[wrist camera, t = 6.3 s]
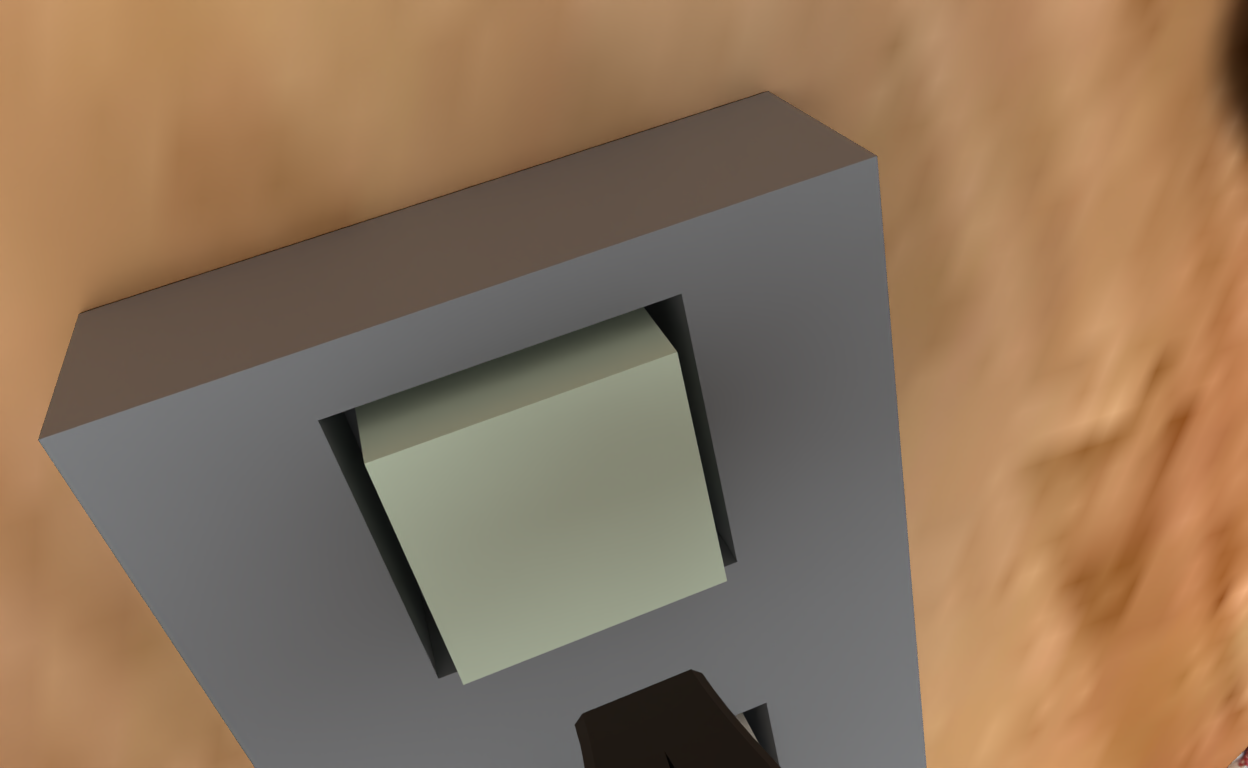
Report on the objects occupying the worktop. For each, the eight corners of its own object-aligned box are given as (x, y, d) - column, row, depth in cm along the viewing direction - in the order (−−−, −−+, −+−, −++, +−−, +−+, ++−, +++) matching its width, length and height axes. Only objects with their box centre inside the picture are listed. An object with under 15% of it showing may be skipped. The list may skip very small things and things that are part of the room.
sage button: (433, 558, 18) (463, 684, 15) (346, 353, 15) (364, 463, 13) (662, 472, 18) (727, 580, 16) (610, 263, 16) (677, 351, 13)
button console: (516, 1062, 28) (546, 1208, 25) (78, 313, 15) (38, 439, 12) (879, 898, 30) (946, 1019, 27) (768, 90, 17) (877, 155, 14)
